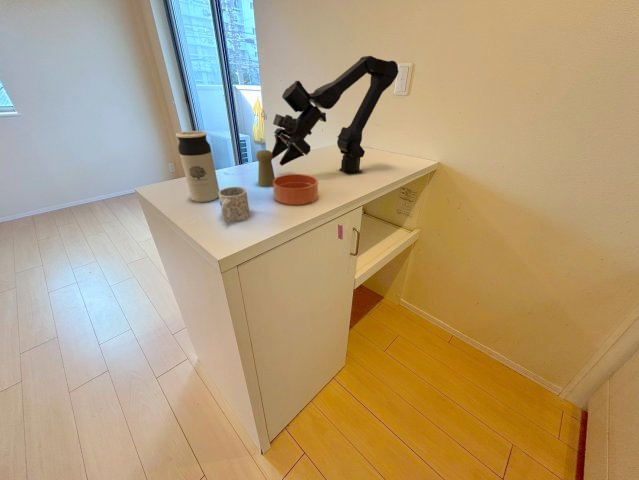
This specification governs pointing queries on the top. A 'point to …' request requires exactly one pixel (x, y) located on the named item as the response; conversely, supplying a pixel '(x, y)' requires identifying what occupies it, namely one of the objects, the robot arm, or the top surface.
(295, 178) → the orange brown bowl
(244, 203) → the mug
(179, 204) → the top surface
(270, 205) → the top surface
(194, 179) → the travel mug
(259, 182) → the cork
